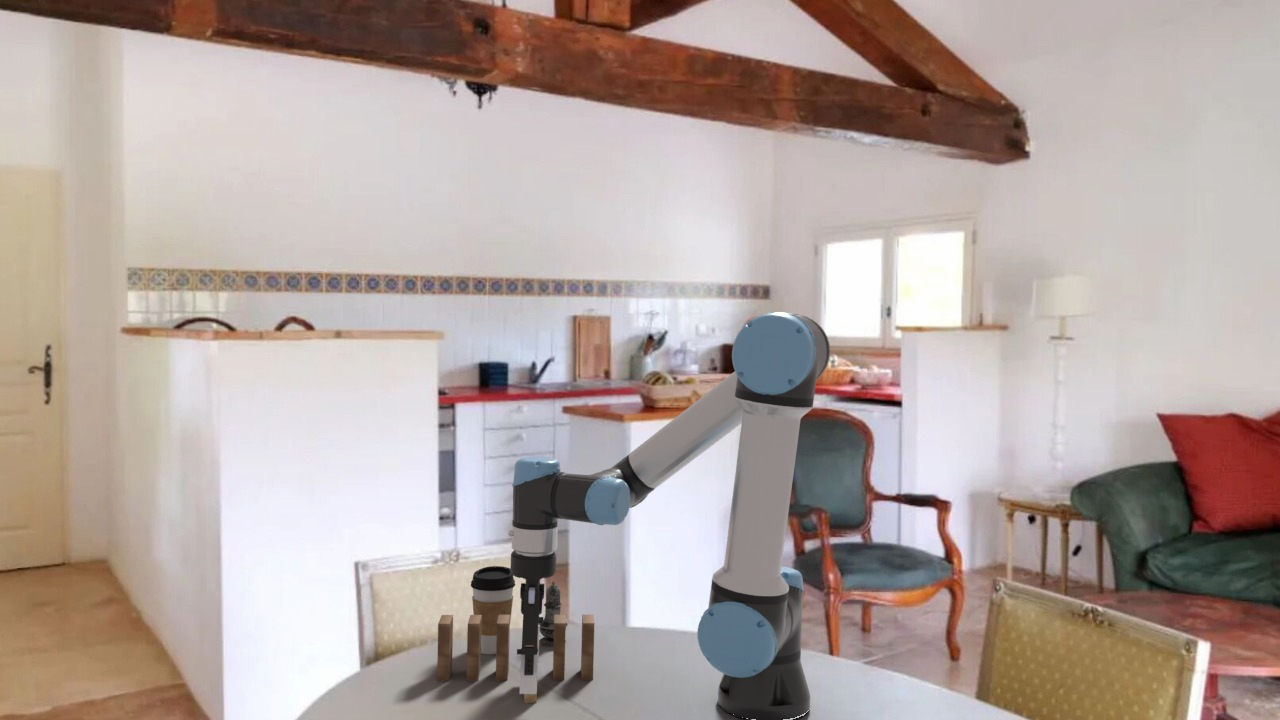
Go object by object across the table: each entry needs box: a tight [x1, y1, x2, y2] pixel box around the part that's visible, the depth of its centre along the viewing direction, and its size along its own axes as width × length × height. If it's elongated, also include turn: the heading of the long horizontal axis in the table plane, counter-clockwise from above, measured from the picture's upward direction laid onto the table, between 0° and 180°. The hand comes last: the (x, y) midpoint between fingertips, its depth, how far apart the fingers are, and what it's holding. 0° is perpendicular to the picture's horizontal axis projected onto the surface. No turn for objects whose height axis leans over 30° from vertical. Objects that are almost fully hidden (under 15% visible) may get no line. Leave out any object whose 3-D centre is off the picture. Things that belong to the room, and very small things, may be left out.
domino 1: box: [436, 614, 454, 682], centre depth 165 cm, size 2×5×10 cm, turn 5°
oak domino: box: [523, 643, 539, 704], centre depth 157 cm, size 2×5×10 cm, turn 5°
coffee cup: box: [470, 565, 516, 655], centre depth 179 cm, size 8×8×15 cm
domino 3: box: [495, 615, 511, 681], centre depth 166 cm, size 2×5×10 cm, turn 5°
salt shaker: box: [538, 581, 569, 647], centre depth 184 cm, size 6×6×12 cm
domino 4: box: [552, 614, 567, 681], centre depth 167 cm, size 2×5×10 cm, turn 5°
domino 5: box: [580, 614, 595, 681], centre depth 167 cm, size 2×5×10 cm, turn 5°
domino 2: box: [466, 614, 482, 682], centre depth 165 cm, size 2×5×10 cm, turn 5°
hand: (529, 677), depth 157 cm, fingers open, 13 cm apart
